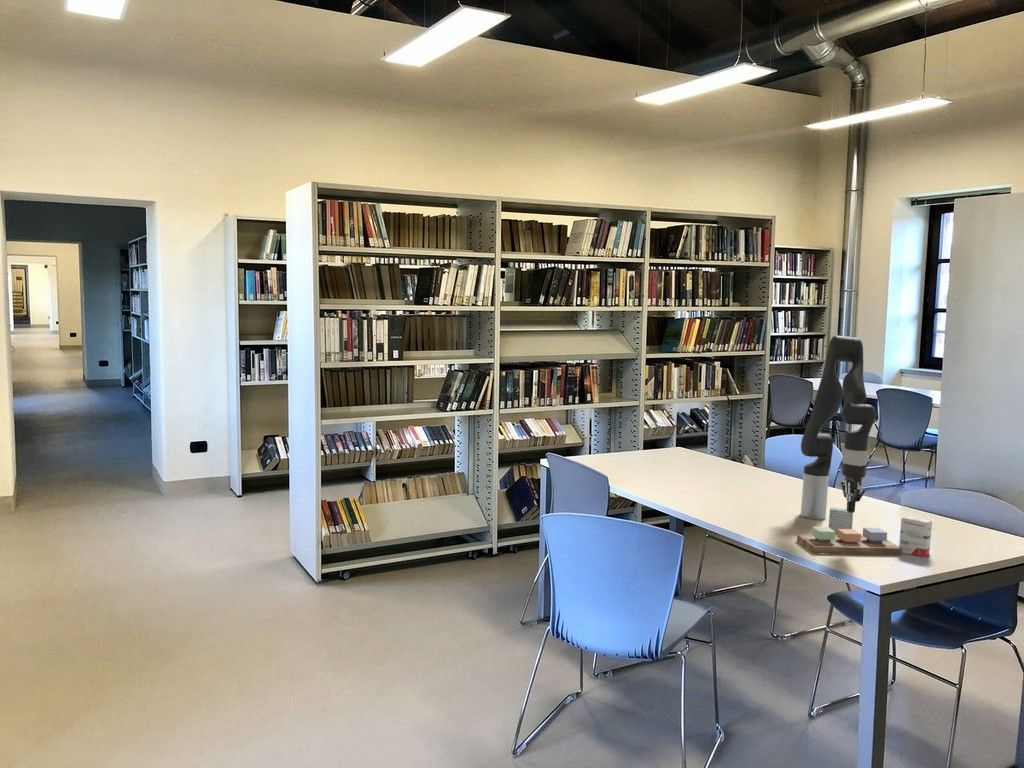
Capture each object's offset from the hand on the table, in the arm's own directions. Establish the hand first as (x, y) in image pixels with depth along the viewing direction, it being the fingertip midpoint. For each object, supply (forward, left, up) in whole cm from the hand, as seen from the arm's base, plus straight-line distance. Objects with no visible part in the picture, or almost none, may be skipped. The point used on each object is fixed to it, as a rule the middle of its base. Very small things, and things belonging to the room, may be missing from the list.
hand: (850, 511), depth 270 cm
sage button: (0, -9, -9) cm, 13 cm away
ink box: (+4, +21, -13) cm, 25 cm away
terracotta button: (0, 0, -10) cm, 10 cm away
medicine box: (-19, +6, -13) cm, 24 cm away
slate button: (0, +9, -9) cm, 13 cm away
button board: (0, 0, -13) cm, 13 cm away
